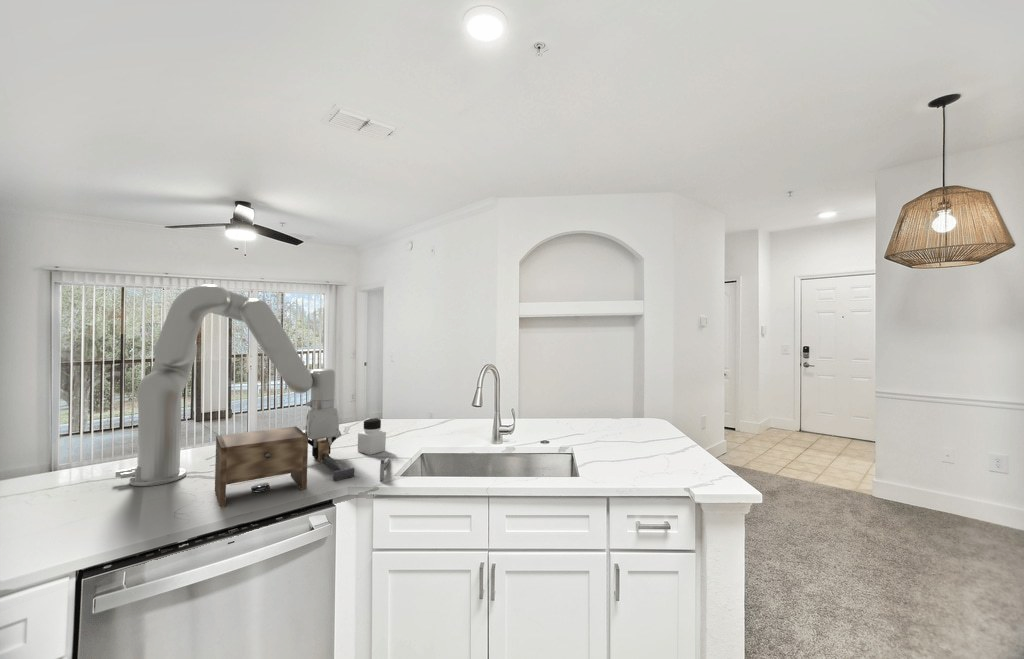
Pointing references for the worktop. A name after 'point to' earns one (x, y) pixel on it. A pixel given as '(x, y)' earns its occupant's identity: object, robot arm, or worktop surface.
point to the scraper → (332, 461)
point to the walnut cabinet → (260, 457)
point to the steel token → (260, 487)
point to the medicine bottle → (371, 437)
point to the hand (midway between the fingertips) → (321, 456)
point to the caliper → (383, 467)
